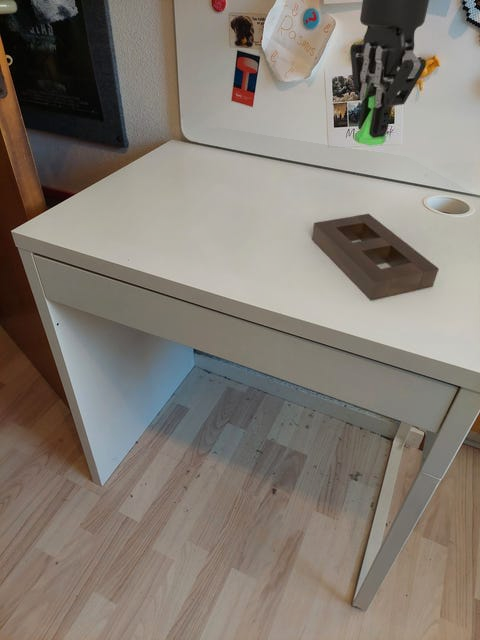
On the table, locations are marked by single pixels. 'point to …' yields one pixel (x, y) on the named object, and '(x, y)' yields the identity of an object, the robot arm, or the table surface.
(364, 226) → the socket pad
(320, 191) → the table surface
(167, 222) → the table surface
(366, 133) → the game piece
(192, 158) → the table surface
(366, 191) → the table surface
